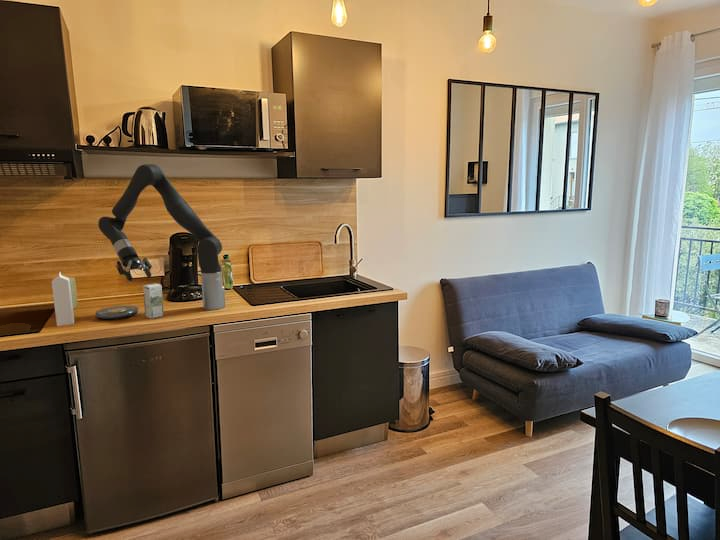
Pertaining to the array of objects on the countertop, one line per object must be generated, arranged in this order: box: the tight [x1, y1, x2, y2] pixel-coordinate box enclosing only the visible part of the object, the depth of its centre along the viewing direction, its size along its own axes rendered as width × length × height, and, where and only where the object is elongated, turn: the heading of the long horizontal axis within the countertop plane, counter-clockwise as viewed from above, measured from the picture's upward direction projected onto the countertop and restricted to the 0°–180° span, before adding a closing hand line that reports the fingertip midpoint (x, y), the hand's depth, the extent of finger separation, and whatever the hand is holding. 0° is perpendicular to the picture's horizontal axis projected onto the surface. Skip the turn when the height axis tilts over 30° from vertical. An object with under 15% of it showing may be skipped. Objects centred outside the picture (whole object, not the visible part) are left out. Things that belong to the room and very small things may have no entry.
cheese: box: [51, 276, 78, 310], centre depth 223 cm, size 22×10×15 cm, turn 27°
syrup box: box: [142, 282, 165, 320], centre depth 213 cm, size 6×6×14 cm
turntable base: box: [105, 316, 131, 321], centre depth 217 cm, size 12×12×1 cm
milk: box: [51, 271, 75, 327], centre depth 204 cm, size 6×6×22 cm
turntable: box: [95, 305, 139, 320], centre depth 216 cm, size 17×17×2 cm
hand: (140, 278), depth 217 cm, fingers open, 8 cm apart
